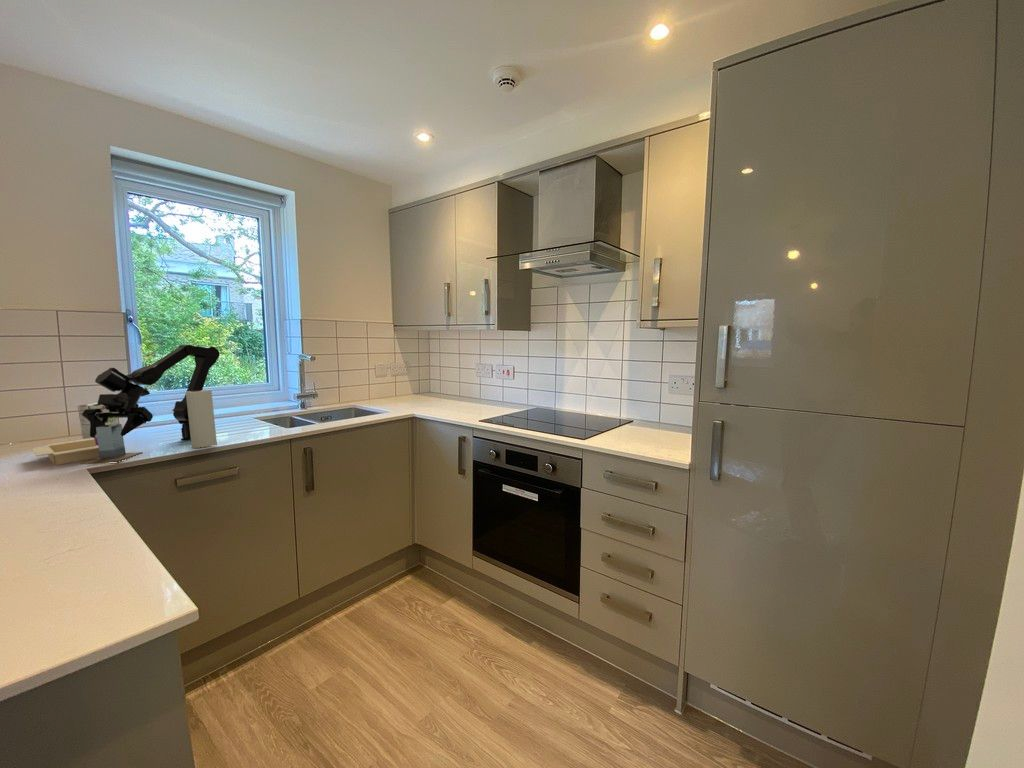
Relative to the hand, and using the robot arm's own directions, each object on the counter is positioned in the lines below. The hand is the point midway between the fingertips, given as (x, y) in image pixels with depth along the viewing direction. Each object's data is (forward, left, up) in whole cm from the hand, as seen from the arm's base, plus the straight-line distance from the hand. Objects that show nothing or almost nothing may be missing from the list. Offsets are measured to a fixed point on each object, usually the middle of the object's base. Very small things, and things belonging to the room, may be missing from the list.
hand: (106, 435), depth 141 cm
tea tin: (0, -1, -8) cm, 8 cm away
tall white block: (-21, -14, -9) cm, 27 cm away
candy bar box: (+23, -29, -9) cm, 38 cm away
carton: (+14, -7, -9) cm, 18 cm away
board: (0, -1, -9) cm, 9 cm away
